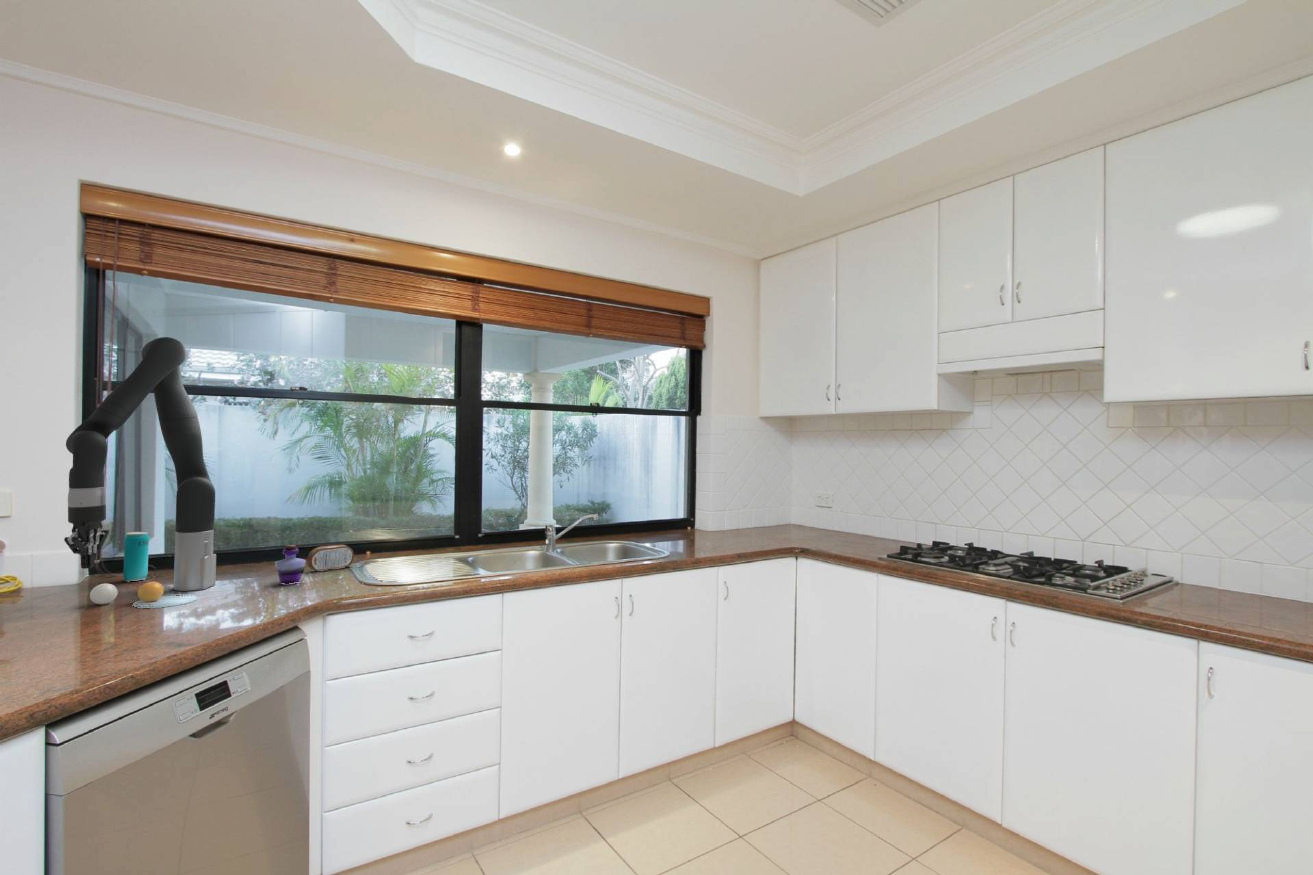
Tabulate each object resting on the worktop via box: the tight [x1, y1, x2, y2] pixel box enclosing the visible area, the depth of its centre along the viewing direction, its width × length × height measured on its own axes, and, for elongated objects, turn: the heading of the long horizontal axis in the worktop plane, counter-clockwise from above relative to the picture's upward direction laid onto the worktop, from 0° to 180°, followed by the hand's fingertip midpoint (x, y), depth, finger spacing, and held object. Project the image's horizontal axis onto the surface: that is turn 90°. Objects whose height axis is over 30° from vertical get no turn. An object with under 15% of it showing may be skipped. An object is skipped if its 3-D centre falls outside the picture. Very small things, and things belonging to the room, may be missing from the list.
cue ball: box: [89, 582, 118, 605], centre depth 163 cm, size 6×6×6 cm
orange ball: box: [137, 581, 165, 602], centre depth 166 cm, size 6×6×6 cm
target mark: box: [131, 593, 198, 609], centre depth 167 cm, size 14×14×1 cm
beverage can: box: [123, 531, 150, 583], centre depth 189 cm, size 6×6×15 cm
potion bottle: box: [274, 544, 307, 584], centre depth 191 cm, size 9×9×12 cm
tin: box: [306, 544, 355, 571], centre depth 211 cm, size 15×3×8 cm, turn 141°
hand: (87, 567), depth 164 cm, fingers closed
